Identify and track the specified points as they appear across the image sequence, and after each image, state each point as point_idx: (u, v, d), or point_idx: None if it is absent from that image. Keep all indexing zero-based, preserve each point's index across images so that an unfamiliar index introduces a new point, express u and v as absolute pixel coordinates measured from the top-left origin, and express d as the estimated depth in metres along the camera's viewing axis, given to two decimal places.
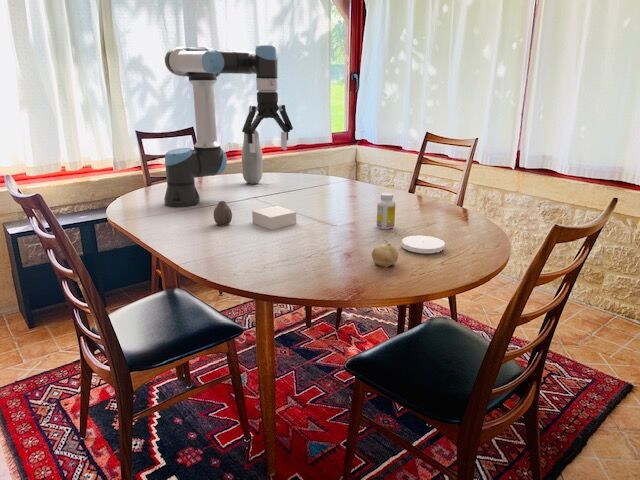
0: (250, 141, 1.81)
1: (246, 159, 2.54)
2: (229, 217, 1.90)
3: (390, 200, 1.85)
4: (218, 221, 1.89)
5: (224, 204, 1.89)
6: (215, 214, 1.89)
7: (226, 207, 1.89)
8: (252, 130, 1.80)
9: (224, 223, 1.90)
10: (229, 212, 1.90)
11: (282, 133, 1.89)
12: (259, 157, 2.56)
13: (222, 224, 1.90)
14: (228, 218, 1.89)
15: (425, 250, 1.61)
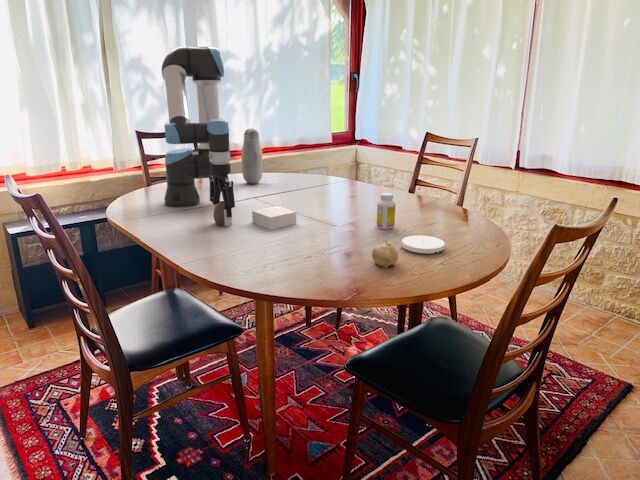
0: None
1: (246, 159, 2.54)
2: None
3: (390, 200, 1.85)
4: (218, 221, 1.89)
5: None
6: (215, 214, 1.89)
7: None
8: (213, 200, 1.92)
9: (224, 223, 1.90)
10: None
11: None
12: (259, 157, 2.56)
13: (222, 224, 1.90)
14: None
15: (425, 250, 1.61)
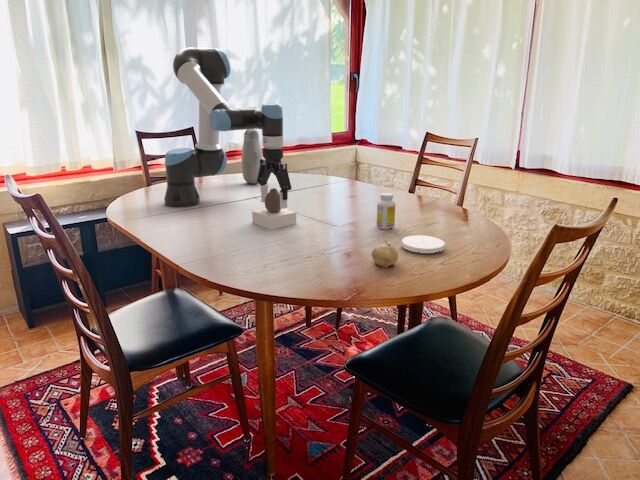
0: (261, 191, 1.96)
1: (246, 159, 2.54)
2: None
3: (390, 200, 1.85)
4: (269, 208, 1.90)
5: (276, 191, 1.90)
6: (267, 201, 1.89)
7: (278, 194, 1.90)
8: (260, 181, 1.94)
9: (275, 210, 1.90)
10: None
11: None
12: (259, 157, 2.56)
13: (273, 211, 1.91)
14: (279, 205, 1.90)
15: (425, 250, 1.61)
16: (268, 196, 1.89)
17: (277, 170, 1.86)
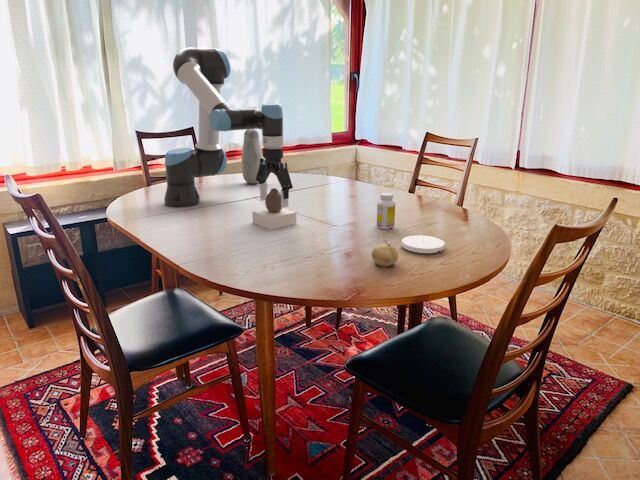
0: (260, 189, 1.96)
1: (246, 159, 2.54)
2: None
3: (390, 200, 1.85)
4: (270, 208, 1.90)
5: (276, 191, 1.90)
6: (267, 201, 1.90)
7: (278, 194, 1.90)
8: (259, 180, 1.94)
9: (276, 210, 1.90)
10: None
11: None
12: (259, 157, 2.56)
13: (274, 211, 1.91)
14: (280, 205, 1.90)
15: (425, 250, 1.61)
16: (269, 196, 1.89)
17: (277, 170, 1.86)
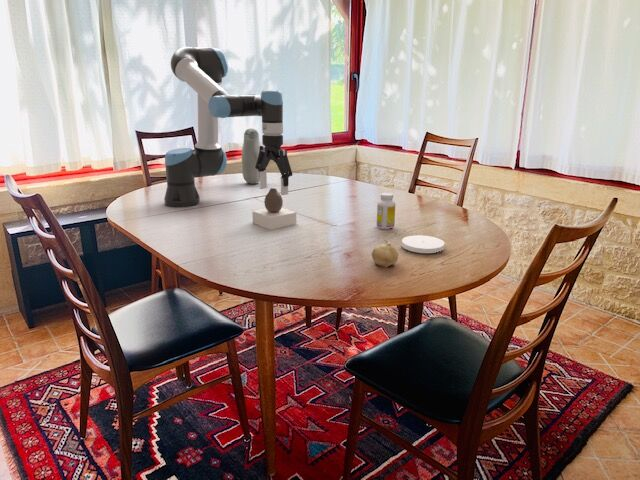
0: (259, 177, 1.95)
1: (246, 159, 2.54)
2: (280, 204, 1.90)
3: (390, 200, 1.85)
4: (269, 208, 1.90)
5: (275, 191, 1.89)
6: (266, 201, 1.89)
7: (277, 194, 1.89)
8: (259, 167, 1.93)
9: (275, 210, 1.90)
10: (280, 199, 1.90)
11: None
12: None
13: (273, 211, 1.91)
14: (279, 205, 1.90)
15: (425, 250, 1.61)
16: (268, 196, 1.89)
17: (277, 157, 1.84)
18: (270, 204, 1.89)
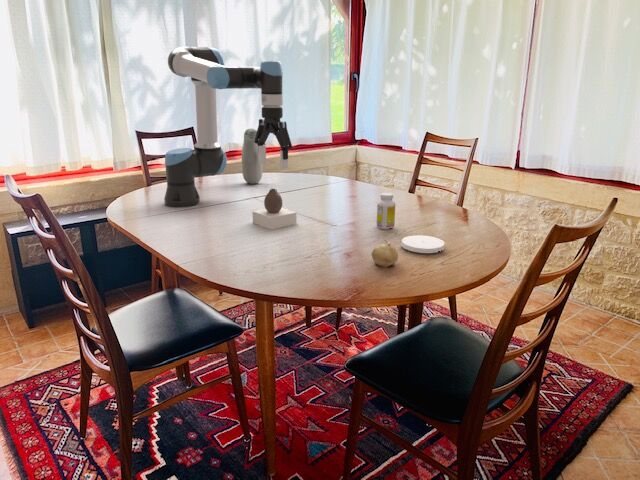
0: (259, 151, 1.92)
1: (246, 159, 2.54)
2: (280, 205, 1.90)
3: (390, 200, 1.85)
4: (269, 208, 1.90)
5: (275, 191, 1.90)
6: (266, 201, 1.89)
7: (277, 194, 1.90)
8: (258, 141, 1.90)
9: (275, 210, 1.90)
10: (280, 200, 1.90)
11: None
12: None
13: (273, 211, 1.90)
14: (279, 205, 1.90)
15: (425, 250, 1.61)
16: (267, 196, 1.89)
17: (276, 130, 1.81)
18: (270, 204, 1.89)
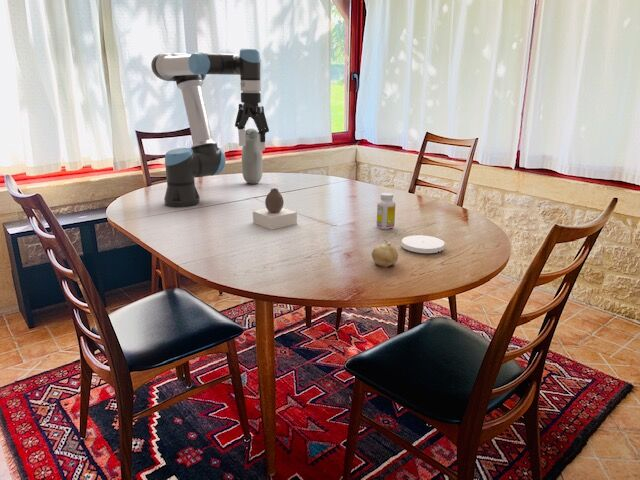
0: (239, 135, 2.03)
1: (246, 159, 2.54)
2: (281, 204, 1.90)
3: (390, 200, 1.85)
4: (270, 208, 1.90)
5: (277, 191, 1.90)
6: (267, 201, 1.89)
7: (278, 194, 1.90)
8: (238, 125, 2.01)
9: (276, 210, 1.90)
10: (281, 199, 1.90)
11: None
12: (259, 157, 2.56)
13: (274, 211, 1.90)
14: (280, 205, 1.90)
15: (425, 250, 1.61)
16: (269, 196, 1.89)
17: (255, 114, 1.92)
18: (271, 203, 1.89)
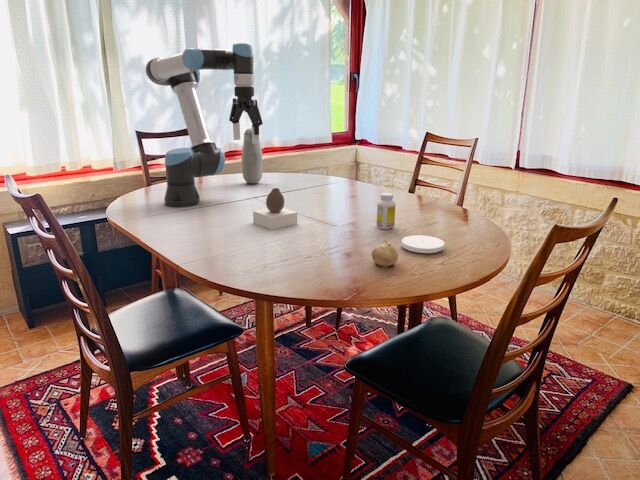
0: None
1: (246, 159, 2.54)
2: (283, 204, 1.91)
3: (390, 200, 1.85)
4: (272, 207, 1.89)
5: (278, 191, 1.90)
6: (270, 200, 1.89)
7: (280, 194, 1.90)
8: (233, 119, 2.04)
9: (278, 210, 1.90)
10: (283, 199, 1.91)
11: None
12: (259, 157, 2.56)
13: (275, 211, 1.90)
14: (282, 204, 1.90)
15: (425, 250, 1.61)
16: (271, 195, 1.89)
17: (248, 107, 1.96)
18: (273, 203, 1.89)
